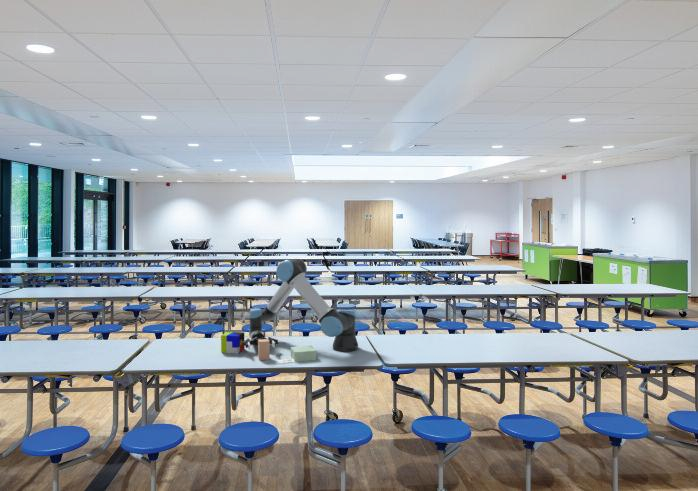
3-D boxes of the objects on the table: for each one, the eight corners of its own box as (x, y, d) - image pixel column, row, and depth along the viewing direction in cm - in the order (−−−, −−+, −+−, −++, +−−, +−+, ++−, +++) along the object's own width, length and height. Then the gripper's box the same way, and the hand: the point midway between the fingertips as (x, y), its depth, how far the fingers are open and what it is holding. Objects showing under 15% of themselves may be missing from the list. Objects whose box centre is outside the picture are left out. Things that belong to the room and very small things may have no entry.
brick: (268, 356, 286) (268, 339, 285) (269, 359, 281) (269, 341, 280) (258, 357, 284) (258, 339, 284) (259, 360, 279) (259, 341, 278)
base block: (311, 354, 291) (311, 345, 291) (316, 359, 280) (316, 350, 279) (290, 355, 288) (290, 347, 287) (294, 361, 276) (294, 352, 276)
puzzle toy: (237, 353, 293) (237, 336, 293) (221, 352, 295) (221, 335, 295) (244, 349, 303) (244, 332, 303) (228, 348, 305) (228, 331, 305)
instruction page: (293, 358, 282) (293, 357, 282) (297, 361, 276) (297, 361, 276) (275, 360, 278) (275, 360, 278) (279, 363, 272) (279, 363, 272)
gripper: (278, 342, 310) (284, 351, 289) (236, 345, 303) (239, 354, 282) (278, 330, 309) (284, 338, 289) (236, 333, 302) (238, 341, 282)
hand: (261, 346), depth 285 cm, fingers open, 13 cm apart
